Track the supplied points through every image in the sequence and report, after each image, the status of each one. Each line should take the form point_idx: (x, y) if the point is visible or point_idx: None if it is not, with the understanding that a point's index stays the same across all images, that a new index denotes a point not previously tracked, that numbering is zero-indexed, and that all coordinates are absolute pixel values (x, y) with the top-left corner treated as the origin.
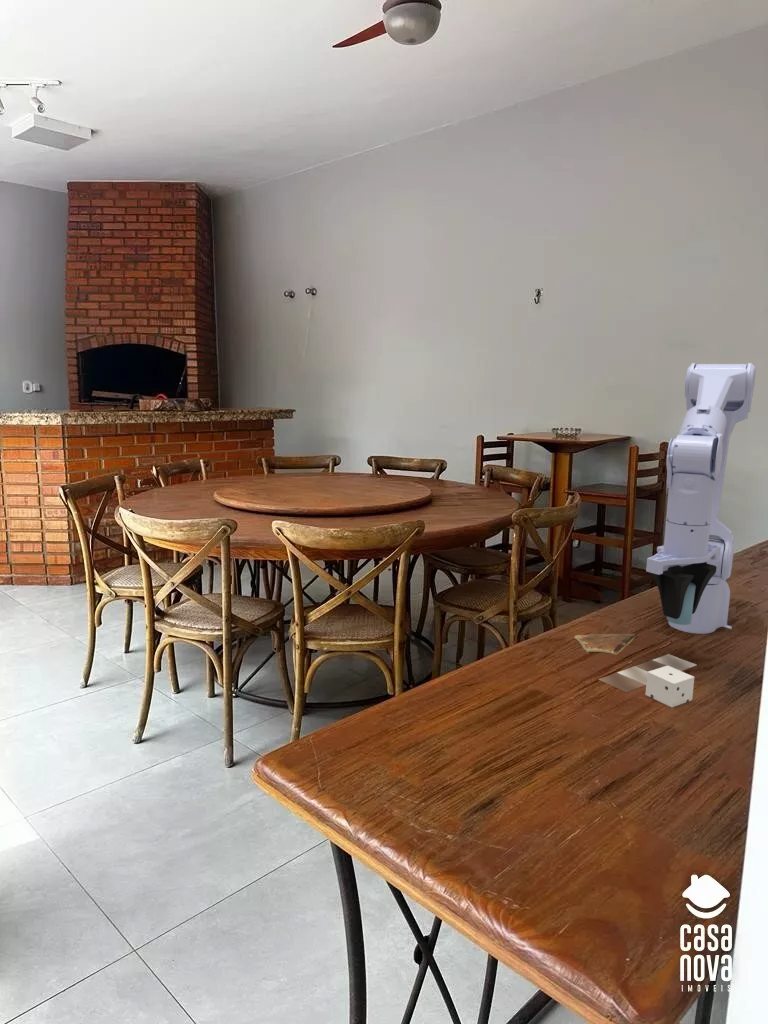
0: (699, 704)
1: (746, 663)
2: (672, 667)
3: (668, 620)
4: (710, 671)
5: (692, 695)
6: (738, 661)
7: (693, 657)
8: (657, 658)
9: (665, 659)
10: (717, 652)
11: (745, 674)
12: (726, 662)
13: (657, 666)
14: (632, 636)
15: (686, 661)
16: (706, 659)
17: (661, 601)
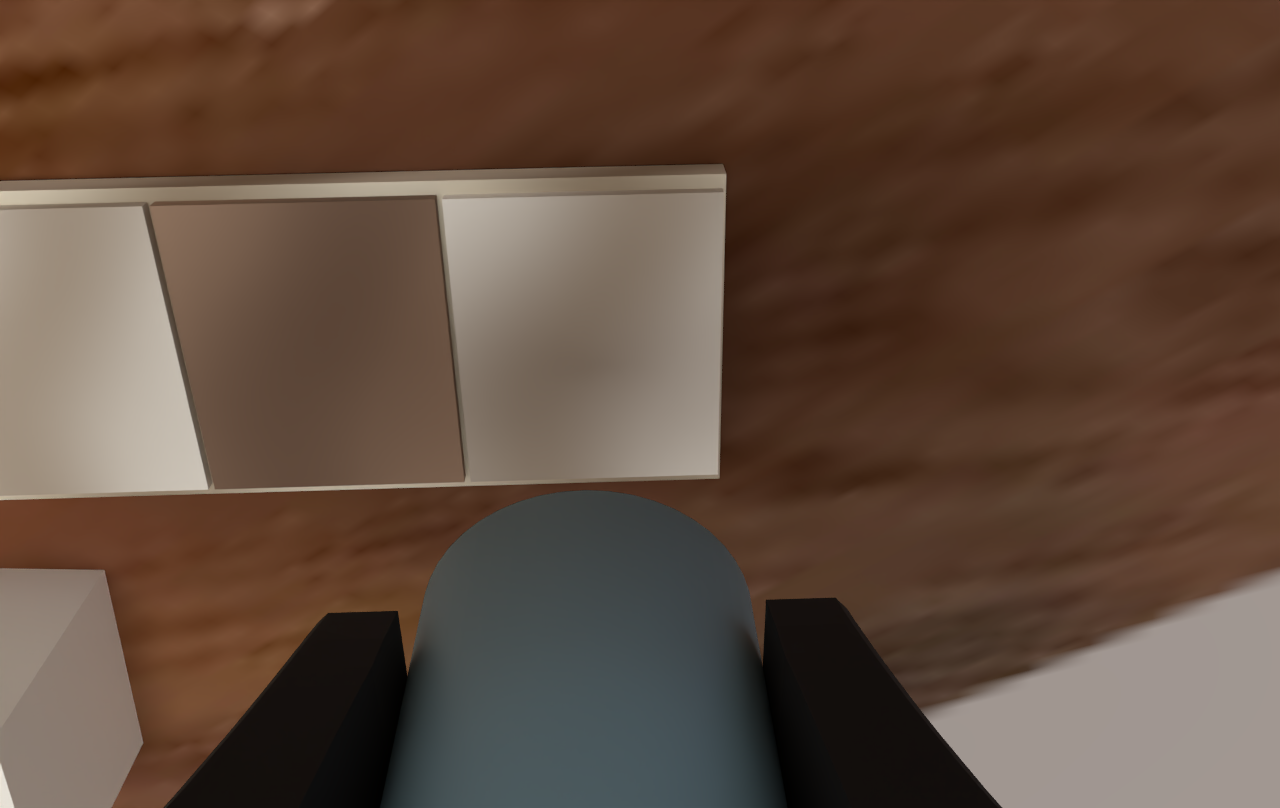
0: (204, 758)
1: (1174, 571)
2: (6, 777)
3: (434, 577)
4: (777, 522)
5: (112, 800)
6: (1170, 522)
7: (955, 285)
8: (521, 202)
9: (568, 263)
10: (1255, 330)
11: (945, 664)
12: (1071, 488)
13: (356, 323)
14: None
15: (707, 388)
16: (1003, 371)
17: (197, 769)
